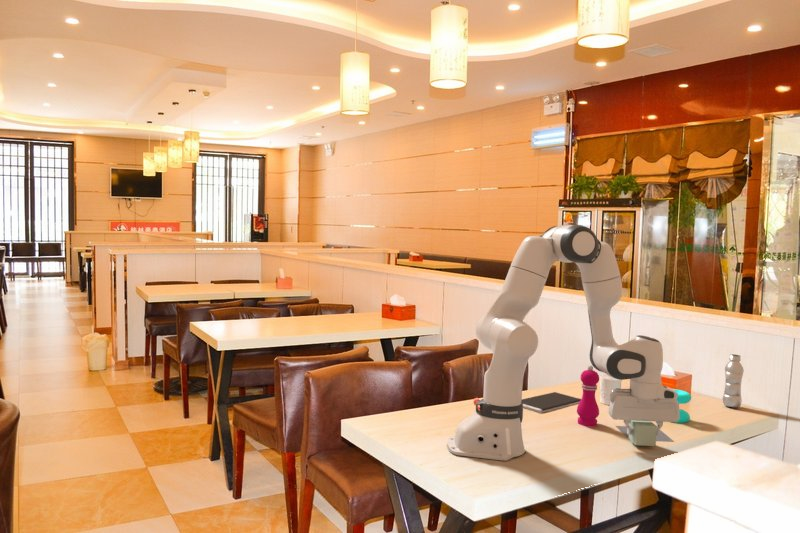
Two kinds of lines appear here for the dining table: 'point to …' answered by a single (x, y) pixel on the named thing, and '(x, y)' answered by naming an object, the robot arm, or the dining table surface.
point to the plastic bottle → (733, 382)
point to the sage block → (643, 433)
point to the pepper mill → (588, 399)
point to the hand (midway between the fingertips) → (642, 434)
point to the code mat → (660, 436)
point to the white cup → (608, 387)
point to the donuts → (682, 399)
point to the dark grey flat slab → (549, 402)
